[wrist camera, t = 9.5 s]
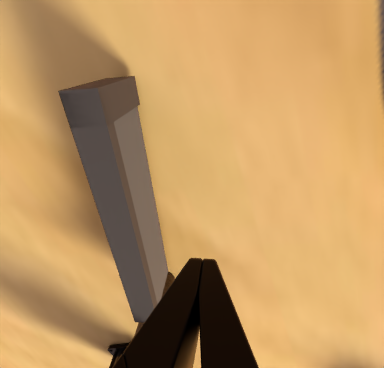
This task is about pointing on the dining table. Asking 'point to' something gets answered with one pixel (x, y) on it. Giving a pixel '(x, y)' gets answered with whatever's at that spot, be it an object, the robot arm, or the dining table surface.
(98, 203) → the grey long flat bar
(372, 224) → the dining table surface
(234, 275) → the dining table surface
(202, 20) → the dining table surface
